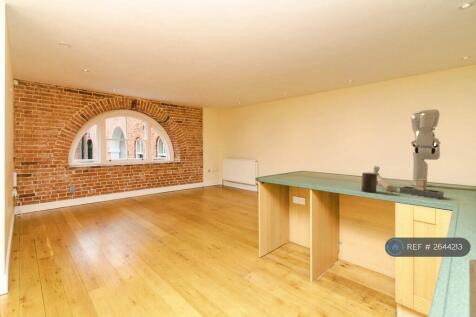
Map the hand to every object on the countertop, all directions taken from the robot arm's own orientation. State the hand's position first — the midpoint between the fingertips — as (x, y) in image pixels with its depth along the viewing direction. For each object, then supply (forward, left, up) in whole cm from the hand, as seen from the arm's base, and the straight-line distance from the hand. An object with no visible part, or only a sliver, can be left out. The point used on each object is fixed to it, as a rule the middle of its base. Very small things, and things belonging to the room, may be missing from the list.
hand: (424, 153), depth 169 cm
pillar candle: (+32, -22, -29) cm, 48 cm away
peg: (+15, +4, -27) cm, 31 cm away
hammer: (+10, -24, -29) cm, 39 cm away
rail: (+15, +4, -28) cm, 32 cm away
